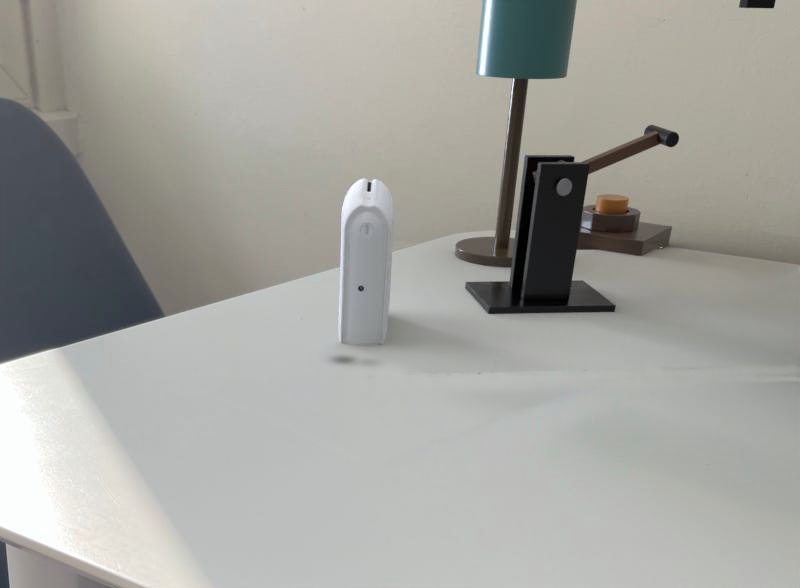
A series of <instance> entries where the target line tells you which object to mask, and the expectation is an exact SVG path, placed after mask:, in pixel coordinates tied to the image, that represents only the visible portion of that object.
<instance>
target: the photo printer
mask: <svg viewBox="0 0 800 588" xmlns="http://www.w3.org/2000/svg"><path fill="white" fill-rule="evenodd" d="M340 217H341V218H340V219H341V220H340V261H339V262H340V263H339V264H340V265H339V267H340V268H339V295H338V297H339V299H338V320H337V325H338V327H337V328H338V331H337V332H338V340H339V342H340V344H348V345H352V346H362V347H364V346H365V347H366V346H367V347H369V346H375V345H384V343H385V342H386V340H387V333H388V325H389V313H390V299H391V287H392V265H393V264H392V263H393V245H394V244H393V243H394V242H393V241H394V225H395V205H394V198H393V195H392V193H391V191H390V189H389V187H387V185H386V183H384V182H383V181H381V180H380V179H378V178H374V179H372V180H368V179H367V178H365V177H364V178H360V179H358V180H357V181H356V182H355V183H353V184H352V185H351V186H350V188H349V189H348V190H347V191H346V194H345V196H344V200H343V203H342V207H341V216H340Z"/></svg>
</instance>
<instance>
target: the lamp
mask: <svg viewBox="0 0 800 588" xmlns="http://www.w3.org/2000/svg"><path fill="white" fill-rule="evenodd" d="M577 2H578V0H482V2H481V14H480V25H479V34H478V45H477V46H478V47H477V58H476V67H475V74H476V75H478V76H482V77H489V78H499V79H511V89H510V97H509V105H508V115H507V124H506V132H505V144H504V151H503V160H502V170H501V178H500V179H501V180H500V189H499V197H498V206H497V216H496V225H495V233H494V236H478V237H477V236H476V237H470V238H469V237H468V238H463V239H461V240H459V241H457V242H456V243H455V246H454V247H455V248H454V256H455V257H456V258H457V259H458V260H461V261H463V262H466V263H470V264H474V265H480V266H486V267H495V268H511V266H512V257H513V249H514V241H515V237H511V232H512V231H511V230H512V222H513V216H514V215H513V214H514V206H515V197H516V190H517V189H516V187H517V181H518V171H519V164H520V163H519V162H520V156H521V155H520V154H521V146H522V139H523V138H522V137H523V131H524V130H523V129H524V120H525V113H526V112H525V111H526V104H527V95H528V86H529V80H555V79H557V80H558V79H565V78H567V77H568V69H569V63H570V62H569V61H570V54H571V47H572V39H573V34H574V33H573V31H574V27H575V26H574V25H575V18H576V11H577Z"/></svg>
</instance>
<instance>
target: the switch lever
mask: <svg viewBox="0 0 800 588" xmlns="http://www.w3.org/2000/svg"><path fill="white" fill-rule="evenodd" d="M679 141H680V135H679V133H677V132H676V131H673V130H670V129H667V128H663V127H661V126H657V125H655V124H650V125H647V126H646V127H645V129H644V132H643V135H642V136H639V137H636V138H634V139H632V140H630V141H627V142H625V143H622V144H620V145H618V146H615V147H613V148H611V149H608V150H606V151H604V152H601V153H599V154H597V155H594V156H592V157H590V158H587V159H584V160H582V161H581V162H586V163H589V164H590V167H589V173H588V175H591V174H593V173H595V172H598V171H600V170H602V169H604V168H607V167H609V166H612V165H614V164H616V163H619V162H622V161H624V160H626V159H629V158H631V157H633V156H635V155H637V154H640V153H642V152H645V151H647V150H650V149H652V148H654V147H658V146H659V145H662V146H665V147H667V148H674V147H676V146H677V145H678V143H679ZM558 162H565V161H563V160H560V161H558ZM536 175H537V170H536V171H534V172H533V177H534V181H535V183H536Z"/></svg>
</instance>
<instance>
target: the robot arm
mask: <svg viewBox="0 0 800 588" xmlns="http://www.w3.org/2000/svg"><path fill="white" fill-rule="evenodd" d="M776 1H777V0H739V5H738V8H740V9H775V6H776Z"/></svg>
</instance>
